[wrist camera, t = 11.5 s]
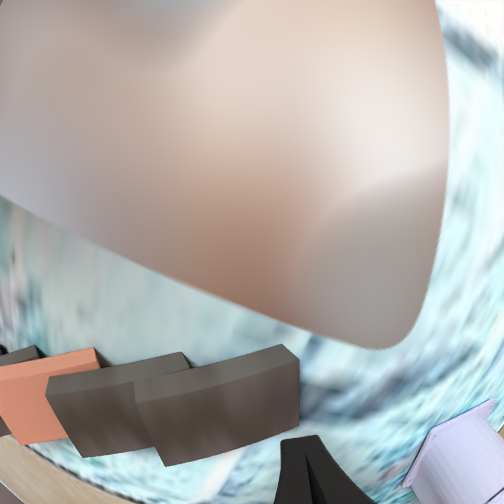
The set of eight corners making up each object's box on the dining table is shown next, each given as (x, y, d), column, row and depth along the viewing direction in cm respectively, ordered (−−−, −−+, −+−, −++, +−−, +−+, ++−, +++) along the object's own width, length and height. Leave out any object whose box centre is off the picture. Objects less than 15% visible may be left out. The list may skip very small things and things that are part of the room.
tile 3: (65, 414, 13) (-18, 442, 8) (59, 401, 14) (-19, 427, 9) (37, 355, 12) (-54, 384, 7) (34, 344, 13) (-50, 371, 8)
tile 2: (206, 432, 13) (82, 457, 10) (196, 414, 14) (82, 438, 11) (189, 368, 12) (44, 395, 9) (181, 351, 13) (49, 376, 10)
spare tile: (122, 424, 13) (20, 445, 9) (117, 408, 14) (21, 428, 10) (95, 361, 12) (-18, 383, 8) (93, 346, 13) (-12, 368, 9)
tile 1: (298, 425, 13) (165, 466, 10) (284, 408, 14) (159, 444, 12) (299, 359, 12) (135, 403, 9) (281, 343, 13) (133, 380, 11)
